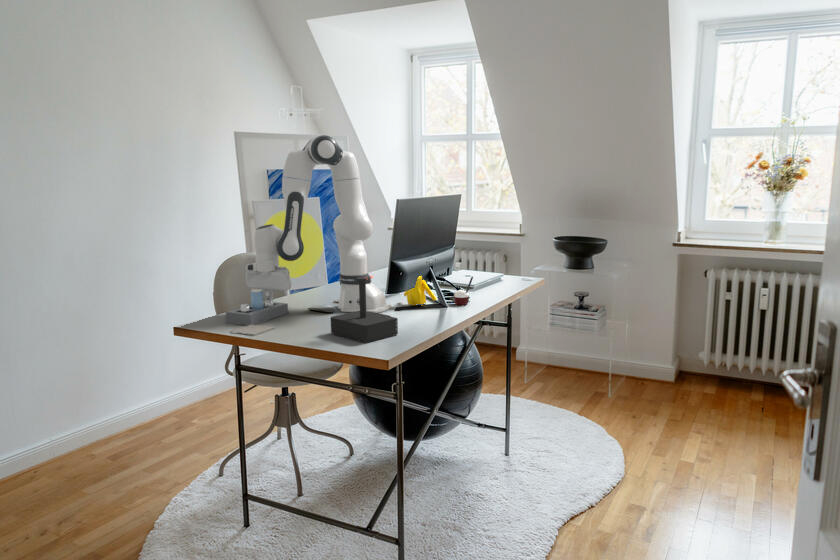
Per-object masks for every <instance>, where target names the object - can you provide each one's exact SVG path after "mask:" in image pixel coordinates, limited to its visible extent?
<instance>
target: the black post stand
mask: <svg viewBox="0 0 840 560" xmlns="http://www.w3.org/2000/svg"><path fill="white" fill-rule="evenodd" d="M357 283H358V284H359V299H360V311H356V312H346V313H342V314H338V315H333V316H331V317H330V332H331V334H333V335H335V336H338V337H339V336H340V337H343V338H347V339H350V340H354V341H358V342H361V343H364V344H365V343H366V344H367V343H371V342H374V341H377V340H378V341H379V340H382V339H383V340H384V339H386V338H389V337H394V336H397V335H398V334H399V330H398V329H399V327H398V326H399V323H398V318H397V317H394V316H391V315H387V314H384V313H381V312H378V313H375V312H369V311H366V283H367V278H366V277H360V278H357Z"/></svg>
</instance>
